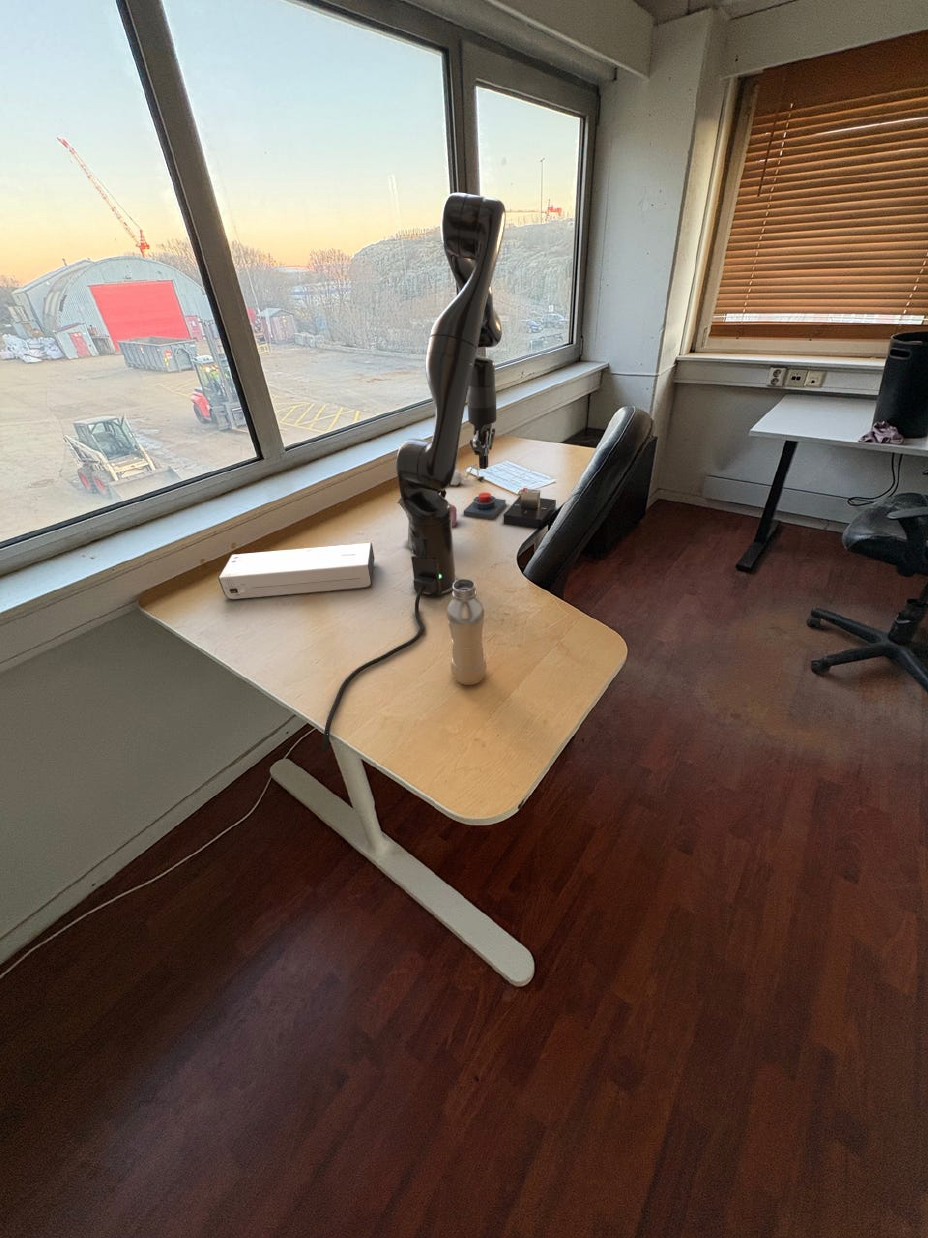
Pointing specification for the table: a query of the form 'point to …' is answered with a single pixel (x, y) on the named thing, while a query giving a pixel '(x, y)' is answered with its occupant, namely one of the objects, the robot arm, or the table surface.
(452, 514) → the video game controller
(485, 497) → the button
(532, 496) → the beige rectangular block
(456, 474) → the clip-on lamp
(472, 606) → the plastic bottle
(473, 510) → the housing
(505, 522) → the hob panel
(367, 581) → the laminator
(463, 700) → the table surface
